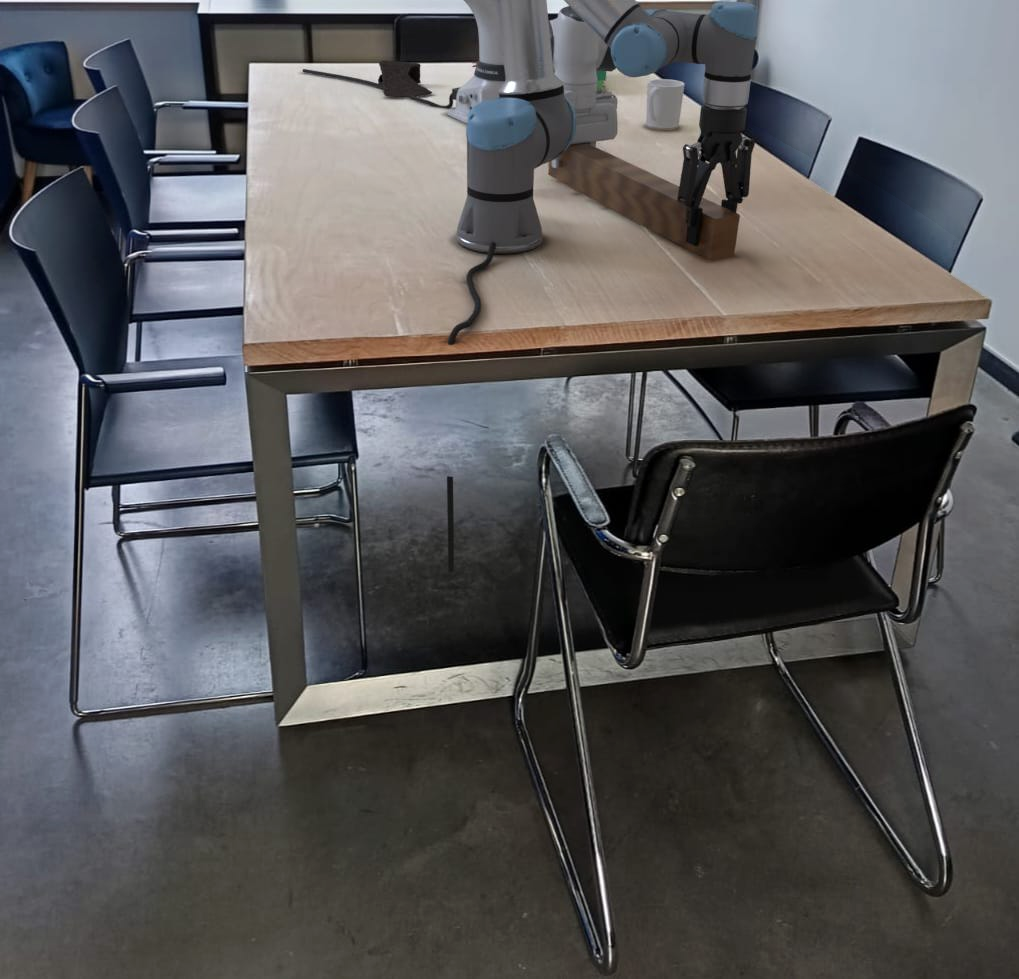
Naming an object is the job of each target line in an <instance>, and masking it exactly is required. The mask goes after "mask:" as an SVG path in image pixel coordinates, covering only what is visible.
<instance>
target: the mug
mask: <svg viewBox="0 0 1019 979" xmlns="http://www.w3.org/2000/svg"><path fill="white" fill-rule="evenodd" d="M646 86H647V87H646V88H647V91H646V116H645V126H646V127H647V128H648V129H650V130H651V129H652V130H656V131H657V130H658V131H673V130H677V129H678V128H679V126H680V119H681V112H682V106H683V105H682V104H683V99H684V91H685V82H683V81H680V80H676V79H670V78H669V79H667V78H657V79H650V80H648V81H647V85H646Z"/></svg>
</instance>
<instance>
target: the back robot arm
mask: <svg viewBox="0 0 1019 979" xmlns="http://www.w3.org/2000/svg"><path fill="white" fill-rule="evenodd" d="M463 2H465V4H466V5H467V6H468V7H469V9H470V11H471V13H472V15H473V16H474V19H475V22H476V26H477V35H478V60H477V61H473V62H471V64H473V65H471V67H472V68H474V73H473V76H472V77H470V79H469V80H468V81H467V82H465V83H464V84H462V86H460V87H455V88H451V93H449V97H448V101H449V102H448V104H447V105H440V104H438V103H436V102H433V101H431V100H429V99H424V98H421V97H416V96H413V95H411V94H408V93H405V94H406V96H407V97H408V98H407V99H411V100H412V101H416V102H417V103H418V102H419V103H421V104H424V105H428V106H429V107H434V108H440V109H446V115H447V116H449V117H452V118H454V119H456V120H458V121H460V122H462V123H464V124H467V121H468V114H469V112H470V110H471V109H472V108H473V107H474V106H475V105H477V104H478V103H480V102H483V101H486V100H494V99H496V98H499V89H500V88H501V86H502V85H503V84H504V82H505V79H506V76H505V68H504V59H503V51H502V43H501V34H500V26H499V17H498V9H497V0H463ZM548 21H549V31H550V41H551V51H552V61H553V69H554V70H555V73H554V74H555V75H556V76H557V77H558V78H559V79H560V80H561V81H562V82H563V86H564V96H565V97H566V99H567V100H568V101H569V102H570V103H571V104H572V106H573V108H574V111H575V114H576V120H577V127H576V133H575V136H574V139H573V141H572V143H571V144H570V145H572V144H580V143H588V144H590V145H592V146H594V147H596V148H597V142H603V141H604V142H605V141H613V140H615V139H616V137H617V135H618V132H619V131H618V128H619V127H618V126H619V124H618V123H619V122H618V102H619V101H618V98H617V96H616V95H615V94H614V93H612V91H611V92H610V91H607V92H598V91H597V74H596V70H597V71H606V72H610V73H611V72H614V71H615V70H616V69H617V68H616V67H615V65H614V63H613V60H612V56H611V49H610V48H609V46H608V45H607V44H606V43H605V42H604V41H603V40H602V39H601V38H600V37H599V36H598V35H597V34H596V33H595V32H594V31H593V30H592V29H591V28H590V27H589V26H588V25H587V24H586V23H585V22H584V21H583V20H582V18H581V17H580V16H579V15H578V14H577V13H576V12H575V11H574V10H573V9H572V8H571V7H570V6H569V5H566V6H564V7H562V8H561V9H560V10H559V11H558V14H557V17H556V18H554V19H550V20H548ZM302 73H305V74H312V75H316V76H321V77H328V78H334V79H339V80H345V81H350V82H355V83H359V84H365V85H368V86H372V87H376V88H379V89H382V90H384V89H383V88H382V86H381V84H378V82H375V81H370V80H366V79H362V78H357V77H352V76H347V75H344V74H343V75H342V74H337V73H331V72H325V71H318V70H313V69H307V68H303V69H302ZM454 101H455V106H454ZM453 106H454V107H453ZM552 167H554V168H560V167H562V159H561V158H559V157H557V158H556V159H554V160H552Z"/></svg>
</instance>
